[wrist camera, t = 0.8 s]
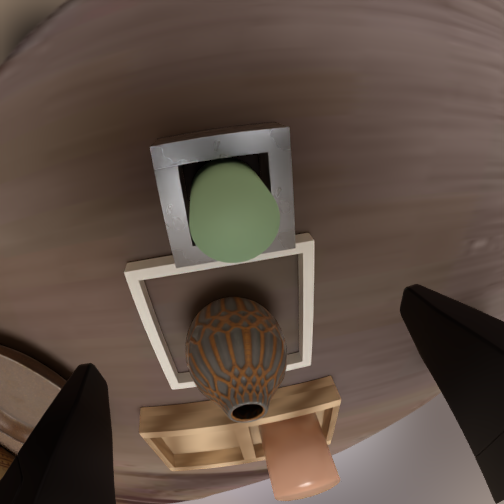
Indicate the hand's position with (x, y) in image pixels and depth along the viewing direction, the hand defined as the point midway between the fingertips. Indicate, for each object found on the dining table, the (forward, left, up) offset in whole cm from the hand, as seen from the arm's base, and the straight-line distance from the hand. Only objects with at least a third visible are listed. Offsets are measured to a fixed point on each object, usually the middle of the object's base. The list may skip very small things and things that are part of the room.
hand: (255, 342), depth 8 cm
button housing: (0, 0, -13) cm, 13 cm away
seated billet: (-3, +26, -12) cm, 29 cm away
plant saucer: (+26, +18, -13) cm, 34 cm away
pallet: (+2, +26, -13) cm, 29 cm away
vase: (+1, +10, -13) cm, 16 cm away
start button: (0, 0, -11) cm, 11 cm away
